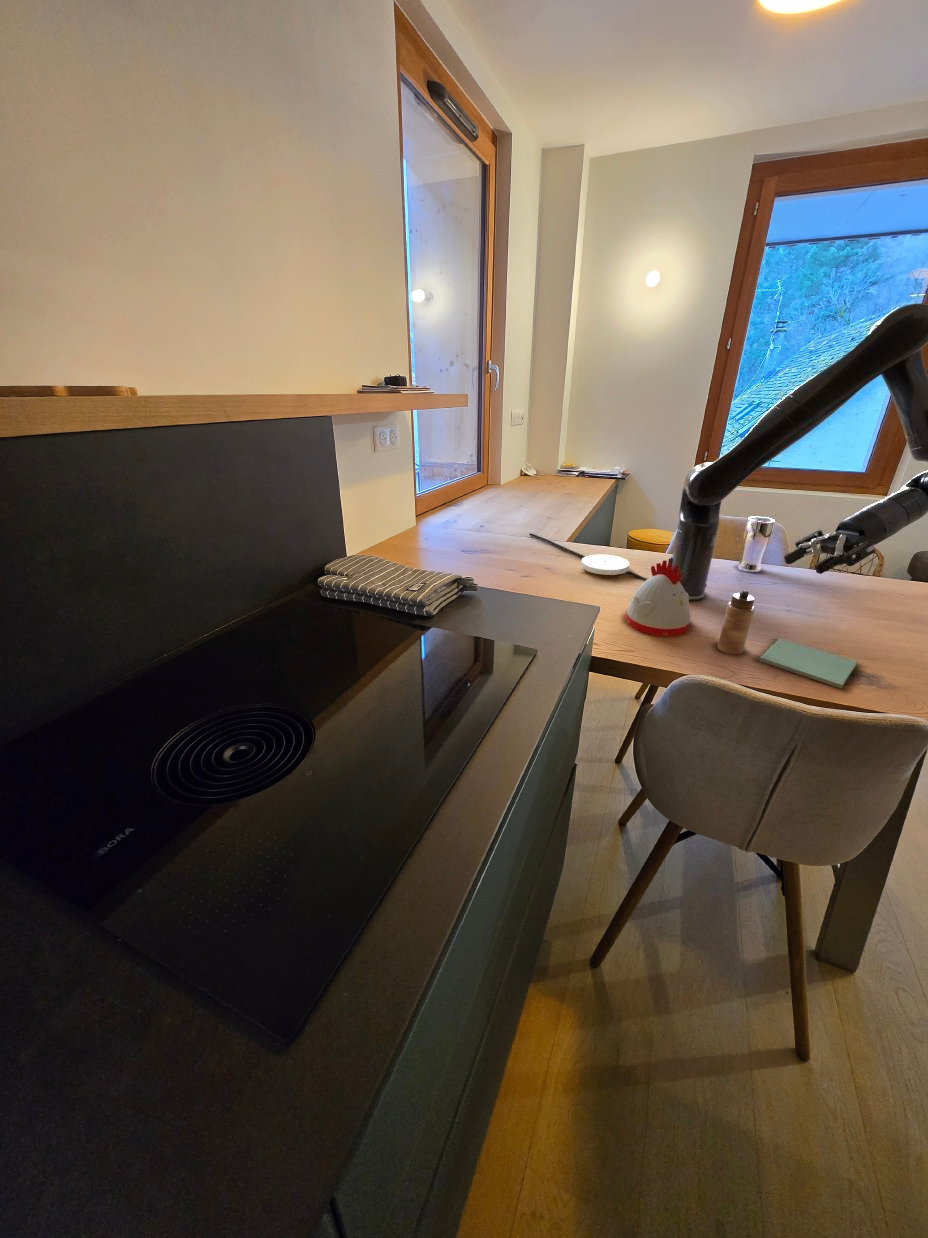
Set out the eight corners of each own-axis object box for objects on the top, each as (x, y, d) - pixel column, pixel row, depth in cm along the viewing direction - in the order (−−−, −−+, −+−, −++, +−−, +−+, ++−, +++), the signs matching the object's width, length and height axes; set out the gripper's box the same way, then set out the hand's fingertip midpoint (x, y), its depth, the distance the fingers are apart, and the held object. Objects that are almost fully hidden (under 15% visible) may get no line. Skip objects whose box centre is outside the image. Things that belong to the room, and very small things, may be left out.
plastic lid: (579, 561, 155) (579, 553, 154) (624, 562, 153) (625, 555, 152) (582, 577, 142) (583, 568, 141) (632, 579, 141) (633, 570, 140)
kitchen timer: (658, 640, 108) (669, 576, 101) (613, 616, 119) (621, 557, 112) (701, 627, 113) (715, 565, 107) (655, 605, 124) (665, 548, 118)
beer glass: (731, 565, 150) (742, 516, 143) (752, 564, 150) (765, 515, 144) (744, 573, 144) (757, 522, 137) (767, 572, 144) (781, 522, 138)
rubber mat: (758, 660, 100) (759, 657, 99) (778, 640, 107) (779, 637, 107) (841, 688, 90) (842, 685, 90) (856, 664, 98) (857, 661, 97)
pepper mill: (713, 648, 104) (727, 590, 98) (722, 641, 107) (737, 584, 101) (737, 656, 101) (753, 597, 95) (746, 648, 104) (762, 590, 98)
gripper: (839, 505, 107) (771, 543, 108) (901, 513, 94) (823, 557, 95) (846, 535, 110) (781, 572, 111) (908, 547, 96) (833, 588, 98)
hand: (800, 565), depth 103 cm, fingers open, 8 cm apart
